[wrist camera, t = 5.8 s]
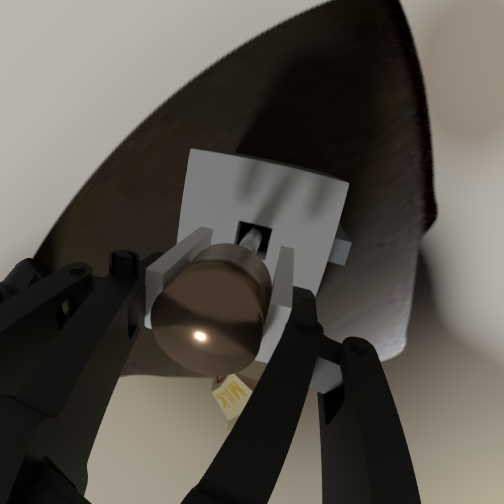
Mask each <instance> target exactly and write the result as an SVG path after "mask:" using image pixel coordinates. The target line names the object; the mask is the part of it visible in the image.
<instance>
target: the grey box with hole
mask: <svg viewBox="0 0 504 504" xmlns="http://www.w3.org/2000/svg"><path fill="white" fill-rule="evenodd" d="M348 187H349V183H348V182H345V181H343V180H341V179H339V178H336V177H334V176H332V175H330V174H327V173H324V172H321V171H317V170H313V169H309V168H305V167H301V166H297V165H293V164H288V163H284V162H280V161H275V160H271V159H266V158H261V157H256V156H251V155H246V154H241V153H236V152H226V151H215V150H202V149H191V150H190V156H189V161H188V167H187V173H186V179H185V186H184V193H183V199H182V207H181V214H180V222H179V230H178V239H177V244H178V243H179V242H181V241H182V240H183V239H185V238H186V237H187V236H189V235H190V234H191V233H193V232H194V231H195V230H197V229H198V228H199V227H201V226H203V227H207V228H211V229H213V235H212V241H211V246H212V245H215V244H220V243H231V244H237V245H239V244H240V242H241V241H242V239H241V238H238V237H239V231H240V226H241V221H243V222H248V223H252V224H256V225H260V226H265V227H269V228H273V229H272V233H271V237H270V241H269V245H266V244H262V243H260V245H259V247H258V250H257V252H256V255H257V256H258V257H259V258H260V259H261V260H262V261H263V262H264V264H265V265H266V267H267V269H268V271H269V273H270V276H271V281H272V280H273V276H274V272H275V268H276V264H277V260H278V256H279V252H280V248H281V245H282V246H286V247H290V248H294V272H293V286H297V287H301V288H305V289H309V290H311V291H312V293H313V294H314V295H315V297H316V294H317V291H318V288H319V285H320V282H321V279H322V276H323V273H324V270H325V267H326V264H327V261H328V262H332V263H336V264H340V265H345V262H346V259H347V256H348V253H349V250H350V247H351V243H352V242H351V241H350V239H349V238H348V236H347V234H346V233H345V231H344V230H343V228H342V227H341V225H340V224H339V220H340V217H341V213H342V210H343V206H344V202H345V198H346V195H347V191H348Z"/></svg>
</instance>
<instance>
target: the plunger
mask: <svg viewBox="0 0 504 504" xmlns="http://www.w3.org/2000/svg"><path fill="white" fill-rule="evenodd" d="M272 229H273V228H269V227H265V226H260V225H256V224H252V223H248V222H243V221H241V226H240V231H239V237H238V238H241V239H242V241H241V242H240V244H239V245H237V244H231V243H220V244H215V245H212V246H209V247H207V248H205V249H203V250H202V251H201V252H199V253H198V254H197V255H196V256H195V258H194V259H193V260H192V261H191V262H190V263H189V264H188V265H187V266H186V267H185V268H184V269H183V270H182V271H181V272H180V273H179V274H178V275H177V276H176V277H175V278H174V279H173V280H172V281H171V282H170V283H169V284H168V285H167V286H166V287H165V289H164V290H163V291H162V292H161V293H160V294H159V295H158V296H157V297H156V299H155V300H154V303H153V305H152V308H151V314H150V321H151V327H152V331H153V334H154V336H155V338H156V340H157V342H158V344H159V345H160V347H161V348H162V349H163V350H164V352H165V353H166V354H167V355H168V356H169V357H171V358H172V359H173V360H174V361H175V362H177V363H178V364H180V365H181V366H183V367H185V368H187V369H189V370H191V371H194V372H197V373H200V374H204V375H210V376H225V375H231V374H235V373H237V372H240V371H242V370H243V369H245V368H247V367H248V366H249V365H250V364H251V363H252V362H253V361H254V360H255V358H256V357H257V355H258V352H259V350H260V345H261V341H262V336H263V331H264V324H265V319H266V314H267V310H268V305H269V300H270V295H271V290H272V281H271V276H270V273H269V271H268V269H267V267H266V265H265V264H264V262H263V261H262V260H261V259H260V258H259V257H258V256H257V255H256V252H257V250H258V247H259V245H260V243H262V244H266V245H269V241H270V237H271V233H272Z"/></svg>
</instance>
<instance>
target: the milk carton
mask: <svg viewBox="0 0 504 504" xmlns="http://www.w3.org/2000/svg"><path fill="white" fill-rule="evenodd" d="M267 364H268V363H265V362H260V361H256V360H254V361H253V362H252V363H251V364H250V365H249V366H248V367H247V368H245V369H243V370H242V371H240V372H237V373H235V374H231V375H225V376H214V379H213V386H212V394H213V395H214V397H215V399H216V401H217V402H218V404H219V406H220V407H221V409H222V410H223V412H224V414H225V415H226V417H227V419H228V420H229V422H228V429H227V433H230V431H231V430H232V428H233V426H234V425H235V423H236V421H237V419H238V418H239V416H240V414H241V412H242V410H243V409H244V407H245V405H246V403H247V401H248V400H249V398H250V396H251V394H252V392H253V390H254V389H255V387H256V385H257V383H258V381H259V379H260V377H261V375H262V373H263V372H264V370H265V368H266V366H267Z"/></svg>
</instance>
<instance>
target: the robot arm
mask: <svg viewBox="0 0 504 504" xmlns="http://www.w3.org/2000/svg"><path fill="white" fill-rule="evenodd" d="M212 235H213V229H211V228H207V227H203V226H201V227H199V228H198V229H197V230H195V231H194V232H193V233H191V234H190V235H189V236H187V237H186V238H185V239H183V240H182V241H181V242H179V243H178V244H177V245H175V246H174V247H173V248H172V249H170V250H169V251H168V252H166V253H161V252H157V253H153V254H150V255H149V256H148V257H146V258H145V259H143V260H142V261H141V262H140V255H139V254H138V253H136V252H134V251H130V250H116V251H113V252H111V253H109V273H108V275H107V276H106V277H99V276H92V268H91V266H90V265H88V264H86V263H83V262H80V263H79V262H76V263H71V264H69V265H66V266H64V267H63V268H61V269H59V270H57V271H55V272H54V273H52V274H50V275H49V274H48V272H47V271H46V270H45V268H44V267H43V266H42V265H41V264H40V263H39V262H37V261H36V260H34V259H32V258H27V259H24V260H22V261H20V262H19V263H18V264H17V265H16V266H15V268H13V270H12V271H11V272H10V273H9V274H8V276H7V277H6V278H5V279H4V280H3V281H2V282H0V504H91V503H90V502H89V501H88V500H87V499H86V498H85V497H84V494H85V490H86V486H87V482H88V473H87V462H88V458H89V455H90V452H91V450H92V446H93V444H94V441H95V438H96V435H97V432H98V430H99V427H100V424H101V421H102V419H103V416H104V413H105V411H106V408H107V406H108V403H109V401H110V398H111V395H112V393H113V391H114V388H115V386H116V383H117V381H118V379H119V376H120V374H121V372H122V369H123V367H124V365H125V362H126V360H127V358H128V356H129V353H130V351H131V349H132V347H133V344H134V342H135V340H136V338H137V336H138V333H139V331H140V321H141V320H142V318H143V317H144V316H145V327H147V328H150V329H152V327H151V321H150V314H151V308H152V305H153V303H154V300H155V299H156V297H157V296H158V295H159V294H160V293H161V292H162V291H163V290H164V289H165V287H166V286H167V285H168V284H169V283H170V282H171V281H172V280H173V279H174V278H175V277H176V276H177V275H178V274H179V273H180V272H181V271H182V270H183V269H184V268H185V267H186V266H187V265H188V264H189V263H190V262H191V261H192V260H193V259H194V258H195V256H196V255H197V254H198V253H199V252H201V251H202V250H203V249H205V248H207V247H209V246H211V241H212ZM293 272H294V248H290V247H286V246H282V245H281V248H280V252H279V256H278V260H277V264H276V268H275V272H274V276H273V280H272V290H271V295H270V300H269V305H268V310H267V314H266V319H265V324H264V331H263V336H262V341H261V345H260V350H259V352H258V355H257V357H256V358H255V360H256V361H260V362H265V363H268V364H267V366H266V368H265V370H264V372H263V373H262V375H261V377H260V379H259V381H258V383H257V385H256V387H255V389H254V390H253V392H252V394H251V396H250V398H249V400H248V401H247V403H246V405H245V407H244V409H243V410H242V412H241V414H240V416H239V418H238V419H237V421H236V423H235V425H234V426H233V428H232V430H231V431H230V433H229V435H228V437H227V438H226V440H225V442H224V444H223V445H222V447H221V448H220V450H219V452H218V453H217V455H216V457H215V458H214V460H213V462H212V463H211V465H210V466H209V468H208V469H207V471H206V473H205V474H204V476H203V477H202V479H201V480H200V482H199V483H198V484H197V485H196V486H195V487H194V488H192V489H191V491H190V492H189V493H188V494H187V495H186V497H185V498H184V500H183V501H182V502H181V504H267V503H268V501H269V498H270V496H271V494H272V491H273V489H274V487H275V484H276V482H277V479H278V477H279V474H280V472H281V469H282V467H283V464H284V461H285V458H286V456H287V453H288V450H289V448H290V445H291V442H292V439H293V436H294V433H295V430H296V428H297V424H298V421H299V418H300V415H301V412H302V408H303V406H304V403H305V399H306V396H307V392H308V389H309V388H311V389H313V390H316V391H318V394H317V395H318V408H319V422H320V439H321V461H322V504H421V500H420V495H419V491H418V486H417V482H416V478H415V473H414V469H413V465H412V461H411V457H410V453H409V450H408V446H407V443H406V439H405V435H404V433H403V428H402V425H401V422H400V419H399V415H398V413H397V409H396V406H395V403H394V400H393V397H392V394H391V391H390V388H389V385H388V382H387V379H386V377H385V374H384V371H383V368H382V365H381V363H380V360H379V357H378V354H377V352H376V350H375V348H374V346H373V345H372V344H371V343H369V342H368V341H367V340H365V339H363V338H359V337H348V338H345V340H344V341H343V343H342V344H341V343H339V342H336V341H334V340H332V339H330V338H328V337H326V336H325V335H324V334H323V333H324V331H323V327H322V325H321V324H320V323H319V322H317V311H316V303H315V302H316V301H315V295H314V294H313V293H312V291H311V290H309V289H305V288H301V287H297V286H293ZM65 301H67V307H68V311H67V312H65V313H63V309H62V303H63V302H65Z"/></svg>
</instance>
